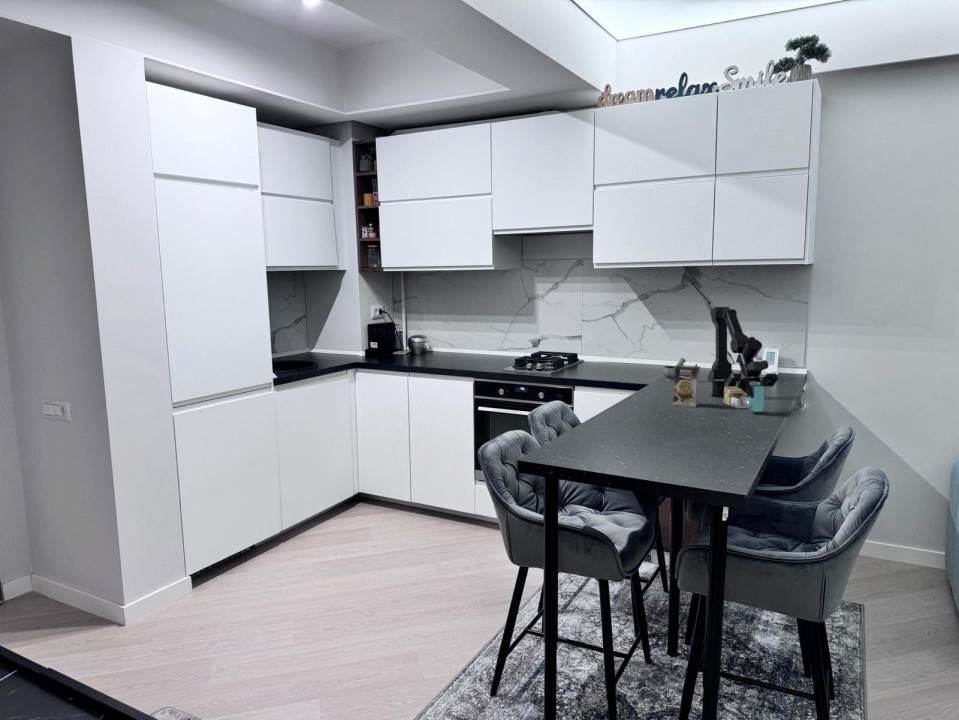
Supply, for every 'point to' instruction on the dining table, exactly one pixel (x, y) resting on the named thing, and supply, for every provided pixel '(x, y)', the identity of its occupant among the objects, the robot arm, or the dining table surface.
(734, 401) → the white notched block
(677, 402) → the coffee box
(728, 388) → the socket
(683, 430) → the dining table surface
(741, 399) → the teal and silver mallet
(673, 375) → the mortar and pestle
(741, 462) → the dining table surface
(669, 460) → the dining table surface
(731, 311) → the robot arm
